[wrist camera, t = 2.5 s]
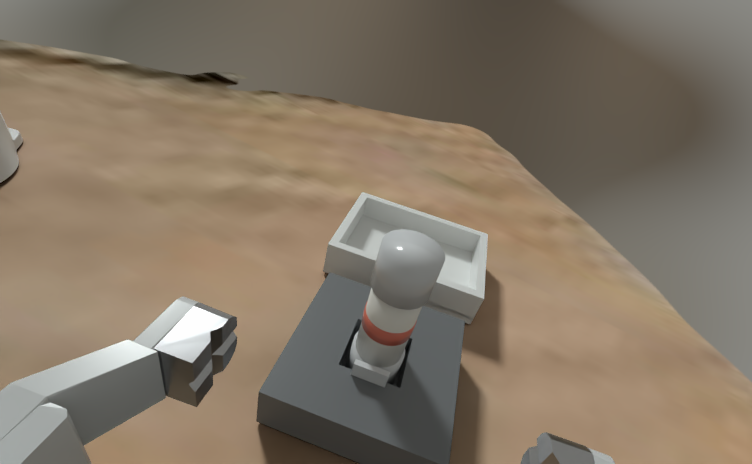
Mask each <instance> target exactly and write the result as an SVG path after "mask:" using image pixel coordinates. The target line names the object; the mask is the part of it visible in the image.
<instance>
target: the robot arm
mask: <svg viewBox="0 0 752 464" xmlns="http://www.w3.org/2000/svg"><path fill="white" fill-rule="evenodd" d="M22 142H23V138H22V136H21V134H20V132H19V131H17V130H15V129H11V128H8V127H7V125H6V123H5V121H4V118H3V116H2V114H1V112H0V183H1V182H2V181H4V180H6V179H7V178H8V177H9V176H11V175H12V174H13V173H14V172H15V170H16V169H17V167H18V164H19V158H18V155H17V152H16V151H17V149H18V147H19V146H20V145H21V144H22ZM236 326H237V318H236V317H235V316H232V315H229V314H227V313H224V312H222V311H219V310H217V309H214V308H212V307H209V306H207V305H204V304H202V303H199V302H197V301H194V300H191V299H189V298H186V297H181V298H179V299H177V300H175V301H174V302H173V303H172V304H171V305H170V306H169V307H168V308H167V309H166V310H165V311H164V312H163V313H162V314H161V315H160V316H159V317H158V318H157V319H155V320H154V321H153V322H152V323H151V324H150V325H149V326H148V327H147V328H146V329H145V330H144V331H143V332H142V333H141V334H140V335H139V336H138V337H137V338H136V339H135V340H134V341H131V340H128V339H127V340H125V341H122V342H119V343H117V344H114V345H111V346H109V347H106V348H103V349H100V350H98V351H95V352H92V353H90V354H87V355H84V356H82V357H79V358H76V359H74V360H71V361H68V362H66V363H63V364H60V365H57V366H55V367H52V368H49V369H47V370H44V371H41V372H39V373H36V374H33V375H31V376H28V377H25V378H23V379H20V380H17V381H14V382H12V383H10V384H9V385H7V386H6V387H5V388H4V389H2V390H1V391H0V464H91V461H90V459H89V457H88V454H87V452H86V450H85V448H84V445H85V444H87V443H89V442H91V441H92V440H94V439H96V438H97V437H99V436H101V435H103V434H104V433H106V432H108V431H110V430H111V429H113V428H115V427H116V426H118V425H120V424H122V423H123V422H125V421H127V420H128V419H130V418H132V417H134V416H135V415H137V414H139V413H141V412H142V411H144V410H146V409H147V408H149V407H151V406H153V405H154V404H156V403H158V402H160V401H161V400H163V399H165V398H166V396H168V397H171V398H173V399H176V400H179V401H182V402H184V403H187V404H190V405H192V406H195V407H197V406H198V405H199V403H200V402H201V401H202V399H203V398H204V396H205V395H206V394H207V392H208V391H209V390H210V388H211V387H212V385H213V375H215V374H217V373H219V372H221V371H223V370H224V369H225V367H226V366H227V364H228V363H229V362H230V360H231V358H232V355H233V353H234V351H235V348H236V344H237V336H236V335H235V333H234V332H233V330H234V329H235V328H236ZM537 445H538V446H535V447H530V448H528V450H527V451H526V452H525V454H524V455H523V458H522V461H521V464H615V462H614V461H613V459H612V458H611V457H610V456H608V455H606V454H603V453H601V452H598V451H595V450H592V449H589V448H587V447H586V446H583V445H580V444H578V443H575V442H572V441H569V440H566V439H563V438H561V437H558V436H555V435H552V434H549V433H547V432H546V433H542V434H541V435H540V436H539V437H538V438H537Z"/></svg>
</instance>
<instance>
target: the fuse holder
mask: <svg viewBox="0 0 752 464" xmlns="http://www.w3.org/2000/svg"><path fill="white" fill-rule="evenodd" d="M370 291H371V287H370V286H367V285H364V284H361V283H359V282H356V281H353V280H350V279H348V278H345V277H342V276H339V275H336V274H334V273H331V272H329V274H328V276H327V278H326V279H325V281H324V283H323V284H322V286H321V288H320V289H319V291H318V293H317V294H316V296H315V298H314V299H313V301H312V303H311V305H310V306H309V308H308V310H307V311H306V313H305V315H304V316H303V318H302V320H301V321H300V323H299V325H298V327H297V328H296V330H295V332H294V333H293V335H292V337H291V338H290V340H289V342H288V343H287V345H286V347H285V348H284V350H283V352H282V354H281V355H280V357H279V359H278V360H277V362H276V364H275V365H274V367H273V369H272V370H271V372H270V374H269V376H268V377H267V379H266V381H265V382H264V384H263V386H262V387H261V389H260V391H259V396H258V409H257V422H259V423H262V424H264V425H267V426H269V427H272V428H274V429H276V430H279V431H281V432H284V433H286V434H289V435H291V436H294V437H296V438H299V439H301V440H304V441H306V442H308V443H311V444H313V445H316V446H318V447H321V448H323V449H326V450H328V451H331V452H333V453H336V454H338V455H340V456H343V457H345V458H348V459H350V460H353V461H355V462H358V463H360V464H449V461H450V452H451V443H452V434H453V425H454V415H455V406H456V397H457V388H458V379H459V370H460V361H461V352H462V343H463V334H464V325H465V321H464V320H461V319H459V318H456V317H453V316H450V315H448V314H445V313H442V312H439V311H436V310H434V309H431V308H428V307H425V306H422V308H421V311H420V313H419V315H418V318H417V322H416V325H415V327H414V330H413V332H412V334H411V336H410V338H409V340H408V342H407V344H406V347H405V356H404V359H403V362H402V364H401V366H400V369H399V371H398V373H397V376H396V378H395V380H394V383H393V385H391V384H389V383H387V381H388V378H389V375H390V372H389V371H386V370H384V369H381V368H378V367H376V366H373V365H370V364H368V363H365V362H363V361H360V360H357V359H356V360H355V362H354V365H353V368H352V369H349V368H347V367H346V363H347V360H348V356H349V353H350V349H351V346H352V342H353V339H354V336H355V334H356V333H357V332H358V331H359V328H360V325H361V322H362V316H363V312H364V309H365V305H366V303H367V301H368V298H369V294H370Z"/></svg>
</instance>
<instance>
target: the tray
mask: <svg viewBox="0 0 752 464" xmlns="http://www.w3.org/2000/svg"><path fill="white" fill-rule="evenodd" d="M399 229H406V230H413V231H417V232H420V233H423V234H425V235H427V236H429V237H430V238H432V239H433V240H435V241H436V242H437V243H438V244H439V245H440V246H441V248H442V249H443V251H444V254H445V262H444V264H443V267H442V269H441V272H440V274H439V276H438V279H437V281H436V283H435V286H434V288H433V291H432V293H431V295H430V298H429V300H428V302H427V303H426V304H425V305H424V306H425V307H428V308H431V309H434V310H436V311H439V312H442V313H445V314H448V315H450V316H453V317H456V318H459V319H461V320H464V321H465V323H467V324H471V322H472V320H473V319H474V317H475V315H476V313H477V311H478V309H479V307H480V306H481V304H482V302H483V300H484V292H485V275H486V257H487V240H488V234H486V233H483V232H480V231H477V230H474V229H471V228H468V227H465V226H462V225H459V224H456V223H453V222H450V221H447V220H444V219H441V218H438V217H435V216H432V215H429V214H426V213H423V212H420V211H417V210H414V209H411V208H408V207H405V206H402V205H399V204H396V203H393V202H390V201H388V200H385V199H382V198H379V197H376V196H373V195H370V194H367V193H364V192H362V193H361V195H360V197H359V198H358V200H357V201H356V203H355V204H354V206H353V207H352V209H351V210H350V212H349V213H348V215H347V216H346V218H345V219H344V221H343V222H342V224H341V225H340V227H339V228H338V230H337V231H336V233H335V234H334V236H333V237H332V239H331V240H330V242H329V243H328V248H327V253H326V258H325V264H324V269H323V272H326V273H329V272H331V273H334V274H336V275H339V276H342V277H345V278H348V279H350V280H353V281H356V282H359V283H361V284H364V285H367V286H370V287H371V283H370V281H371V276H372V273H373V269H374V266H375V262H376V259H377V255H378V252H379V248H380V245H381V241H382V238H383V237H384V236H385V234H387V233H388V232H390V231H393V230H399Z"/></svg>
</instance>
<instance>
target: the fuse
mask: <svg viewBox="0 0 752 464" xmlns="http://www.w3.org/2000/svg"><path fill="white" fill-rule="evenodd" d="M444 262H445V254H444V251H443V249H442V248H441V246H440V245H439V244H438V243H437V242H436V241H435V240H433V239H432V238H430V237H429V236H427V235H425V234H423V233H420V232H417V231H413V230H406V229H399V230H393V231H390V232H388V233H387V234H385V236H384V237H383V238H382V241H381V245H380V248H379V252H378V255H377V259H376V262H375V266H374V269H373V273H372V276H371V281H370V283H371V291H370V294H369V298H368V301H367V303H366V305H365V309H364V312H363V316H362V322H361V325H360V328H359V331H358V332H357V333H356V334H355V336H354V339H353V342H352V346H351V349H350V353H349V356H348V360H347V363H346V367H347V368H349V369H352V368H353V365H354V362H355V360H356V359H357V360H360V361H363V362H365V363H368V364H370V365H373V366H376V367H378V368H381V369H384V370H386V371H389V372H390V375H389V378H388V381H387V383H389V384H391V385H393V383H394V380H395V378H396V376H397V373H398V371H399V369H400V366H401V364H402V362H403V359H404V356H405V347H406V344H407V342H408V340H409V338H410V336H411V334H412V332H413V330H414V327H415V325H416V322H417V318H418V315H419V313H420V311H421V308H422V306H424V305H425V304H426V303H427V302H428V300H429V298H430V295H431V293H432V291H433V288H434V286H435V283H436V281H437V279H438V276H439V274H440V272H441V269H442V267H443V264H444Z"/></svg>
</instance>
